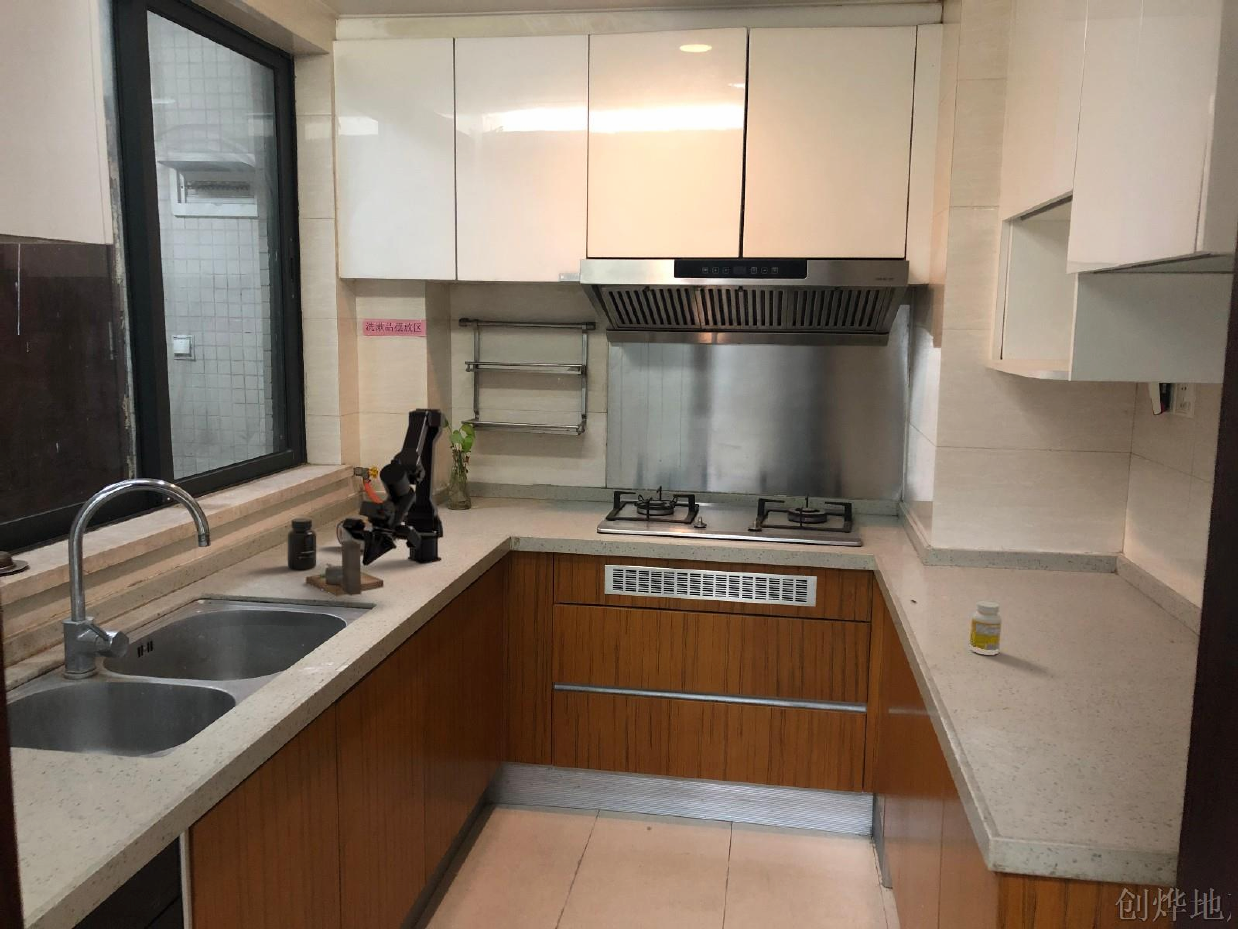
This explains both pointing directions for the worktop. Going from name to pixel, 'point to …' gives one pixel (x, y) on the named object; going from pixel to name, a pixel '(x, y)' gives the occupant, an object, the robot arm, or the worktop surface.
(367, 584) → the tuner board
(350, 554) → the upright block on board
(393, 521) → the robot arm
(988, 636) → the supplement bottle
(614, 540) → the worktop surface
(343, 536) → the tin
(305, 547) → the supplement bottle
